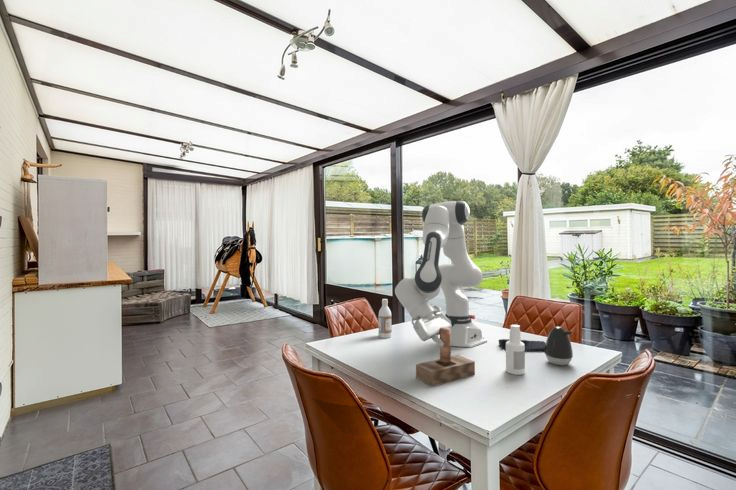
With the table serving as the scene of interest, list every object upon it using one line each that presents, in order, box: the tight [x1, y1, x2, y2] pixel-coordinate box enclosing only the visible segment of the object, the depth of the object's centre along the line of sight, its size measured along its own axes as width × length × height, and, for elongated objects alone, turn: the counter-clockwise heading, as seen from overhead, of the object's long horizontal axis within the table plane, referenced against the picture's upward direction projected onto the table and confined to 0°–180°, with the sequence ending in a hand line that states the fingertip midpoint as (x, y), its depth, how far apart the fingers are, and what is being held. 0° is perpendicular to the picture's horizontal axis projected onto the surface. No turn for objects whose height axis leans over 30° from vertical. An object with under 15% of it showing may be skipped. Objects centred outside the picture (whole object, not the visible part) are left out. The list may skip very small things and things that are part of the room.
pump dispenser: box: [544, 326, 574, 367], centre depth 144 cm, size 10×10×15 cm
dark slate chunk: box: [497, 338, 546, 352], centre depth 166 cm, size 15×22×5 cm
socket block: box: [415, 354, 476, 387], centre depth 132 cm, size 21×9×5 cm, turn 119°
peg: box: [439, 327, 452, 362], centre depth 132 cm, size 4×4×12 cm
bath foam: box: [377, 298, 393, 339], centre depth 187 cm, size 7×7×20 cm
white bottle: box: [505, 324, 526, 376], centre depth 136 cm, size 7×7×18 cm
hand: (446, 343), depth 132 cm, fingers closed on peg, 4 cm apart
